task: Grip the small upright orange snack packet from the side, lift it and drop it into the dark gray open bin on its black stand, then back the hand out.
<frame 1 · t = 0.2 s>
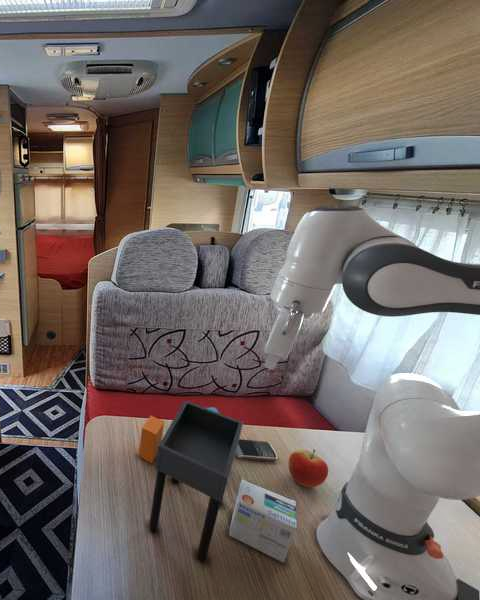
hand: (272, 356, 66), 39 cm above the table, tool pointing down, fingers open, 8 cm apart
dark gray open bin: (198, 455, 68), resting on chute stand
light bulb box: (256, 536, 71), on the table
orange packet: (149, 452, 91), on the table
cell phone: (252, 452, 92), on the table
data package: (209, 454, 91), on the table
apple: (302, 481, 84), on the table
chute stand: (186, 514, 75), on the table
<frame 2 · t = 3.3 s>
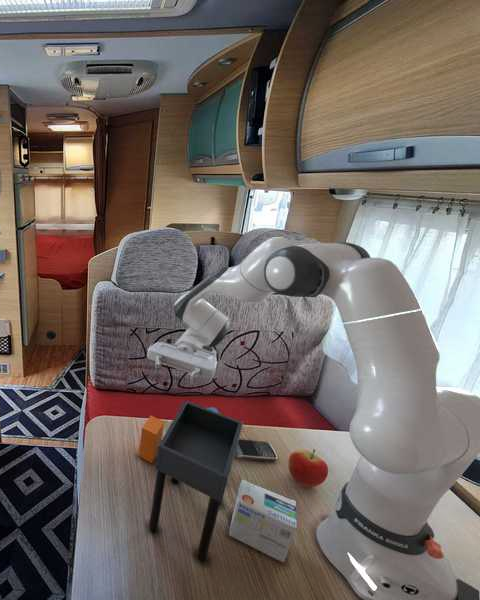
hand: (172, 371, 94), 20 cm above the table, tool horizontal, fingers open, 8 cm apart
nothing on the table moved.
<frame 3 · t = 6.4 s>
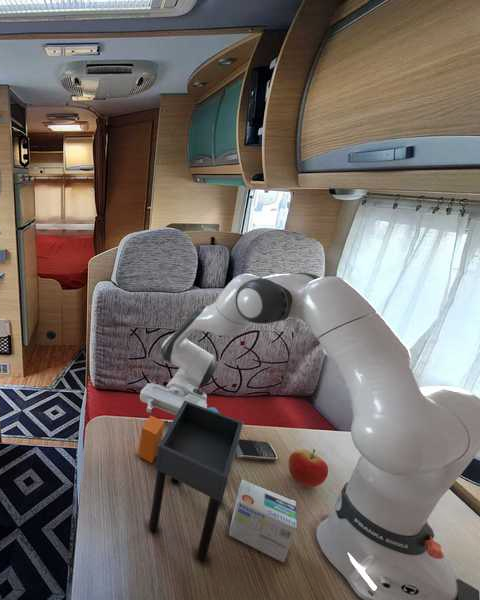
hand: (163, 417, 96), 6 cm above the table, tool horizontal, fingers open, 8 cm apart
nothing on the table moved.
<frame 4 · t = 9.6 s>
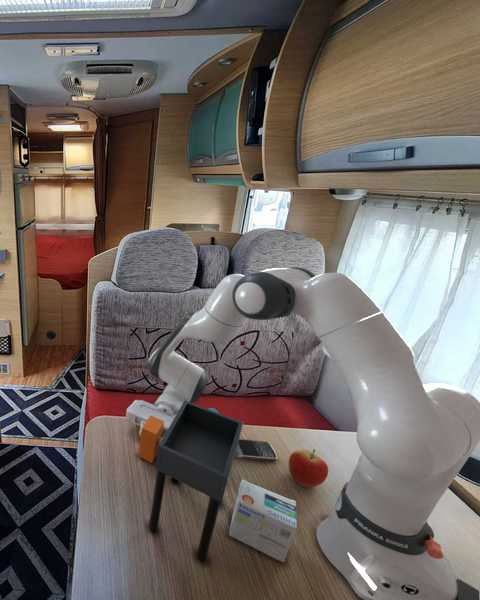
hand: (150, 439, 89), 6 cm above the table, tool horizontal, fingers closed on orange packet, 4 cm apart
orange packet: (149, 452, 92), on the table, touching gripper
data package: (208, 455, 91), on the table, touching arm
everything else where it was.
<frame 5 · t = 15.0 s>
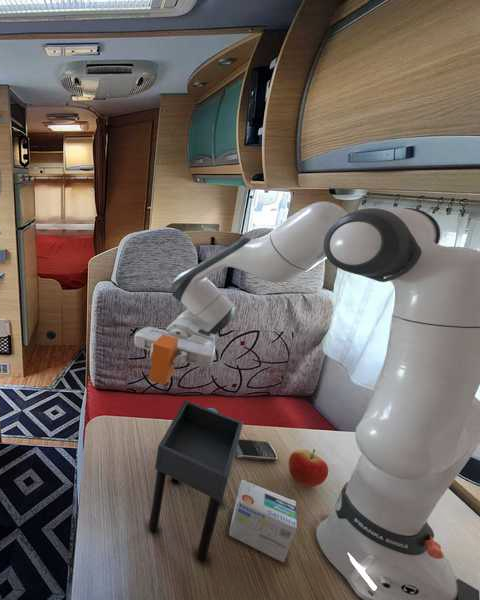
hand: (162, 359, 78), 31 cm above the table, tool horizontal, fingers closed on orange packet, 4 cm apart
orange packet: (161, 376, 81), point 26 cm above the table, touching gripper
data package: (208, 455, 91), on the table
everything else where it was.
when the fingers open (26 cm above the table, at t = 20.7 s): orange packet drops 2 cm, resting on dark gray open bin.
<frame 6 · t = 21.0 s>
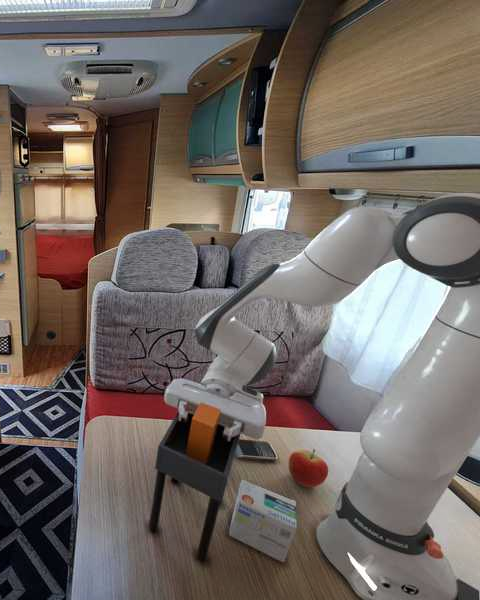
hand: (203, 428, 65), 26 cm above the table, tool horizontal, fingers open, 7 cm apart
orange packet: (199, 452, 68), point 19 cm above the table, touching dark gray open bin
everything else where it was.
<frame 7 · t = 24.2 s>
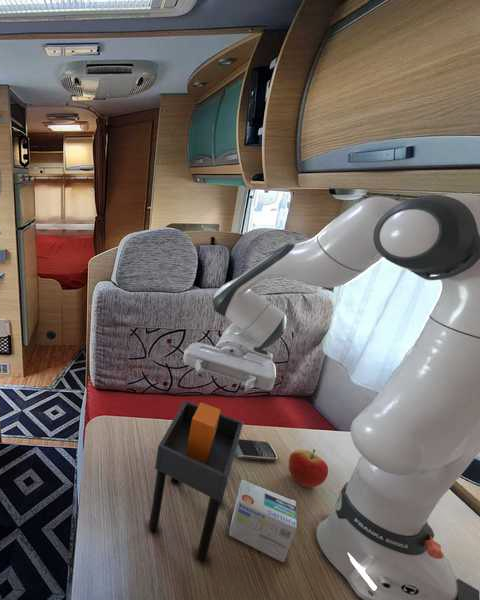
hand: (220, 380, 73), 30 cm above the table, tool horizontal, fingers open, 8 cm apart
nothing on the table moved.
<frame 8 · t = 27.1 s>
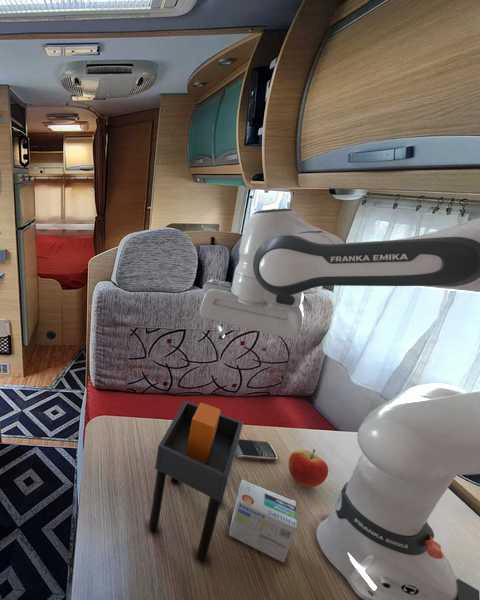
hand: (241, 344, 74), 37 cm above the table, tool pointing down, fingers open, 8 cm apart
nothing on the table moved.
at the end: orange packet inside the target area on the dark gray open bin (0.1 cm from its centre), point 1.0 cm above the dark gray open bin's base; the gripper is holding nothing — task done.
